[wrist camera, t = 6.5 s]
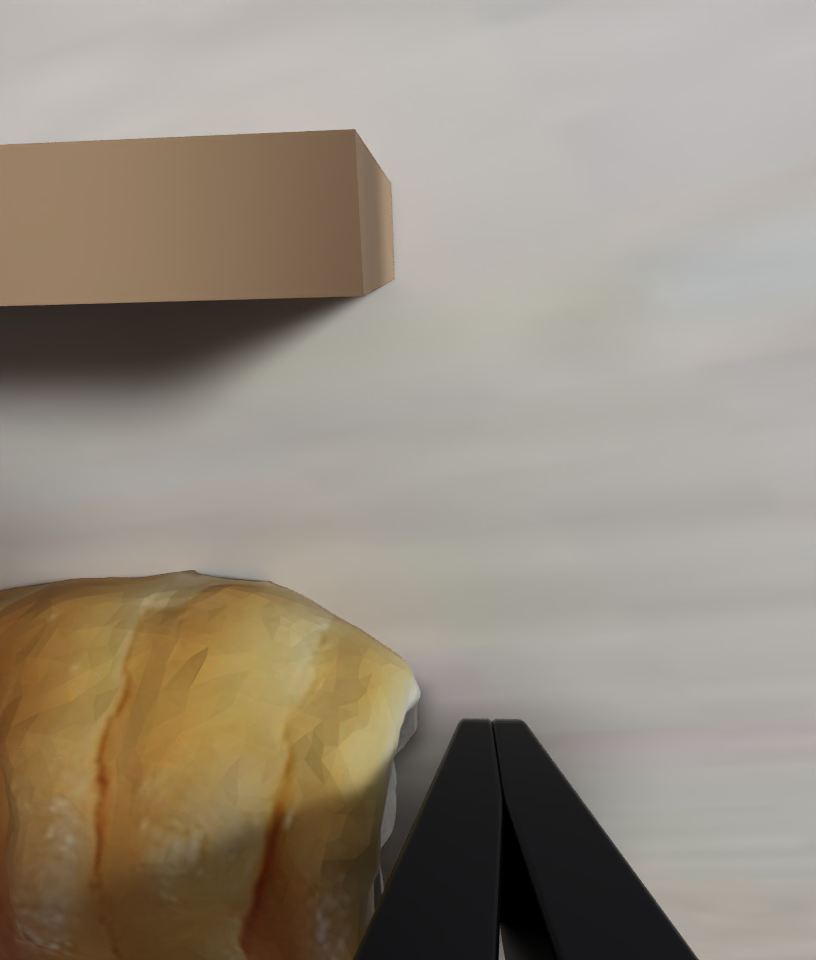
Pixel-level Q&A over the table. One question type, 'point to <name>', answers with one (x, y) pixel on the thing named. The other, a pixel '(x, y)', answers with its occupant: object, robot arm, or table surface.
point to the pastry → (192, 771)
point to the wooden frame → (193, 219)
